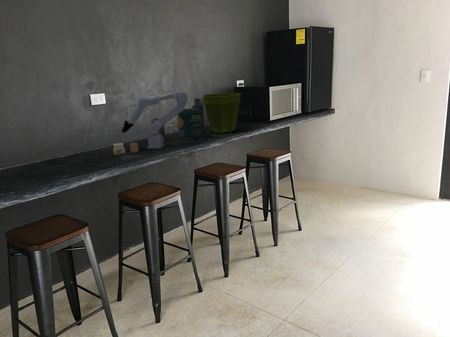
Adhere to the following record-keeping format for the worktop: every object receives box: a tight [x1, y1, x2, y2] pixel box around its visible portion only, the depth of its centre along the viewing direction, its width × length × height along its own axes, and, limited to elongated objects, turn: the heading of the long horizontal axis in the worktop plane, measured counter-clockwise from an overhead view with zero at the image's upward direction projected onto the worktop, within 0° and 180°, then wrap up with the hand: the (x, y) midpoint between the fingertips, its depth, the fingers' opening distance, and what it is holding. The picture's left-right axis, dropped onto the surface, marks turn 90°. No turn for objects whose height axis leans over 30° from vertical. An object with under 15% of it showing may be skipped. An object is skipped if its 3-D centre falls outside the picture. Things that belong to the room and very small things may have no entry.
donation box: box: [176, 97, 206, 142], centre depth 272 cm, size 16×16×28 cm
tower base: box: [112, 148, 126, 155], centre depth 239 cm, size 6×6×3 cm
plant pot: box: [202, 92, 242, 134], centre depth 294 cm, size 30×30×29 cm
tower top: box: [113, 142, 125, 150], centre depth 238 cm, size 6×6×3 cm
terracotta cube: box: [129, 142, 139, 153], centre depth 242 cm, size 4×4×5 cm
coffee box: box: [150, 117, 166, 142], centre depth 271 cm, size 9×6×16 cm
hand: (123, 132), depth 243 cm, fingers open, 7 cm apart
